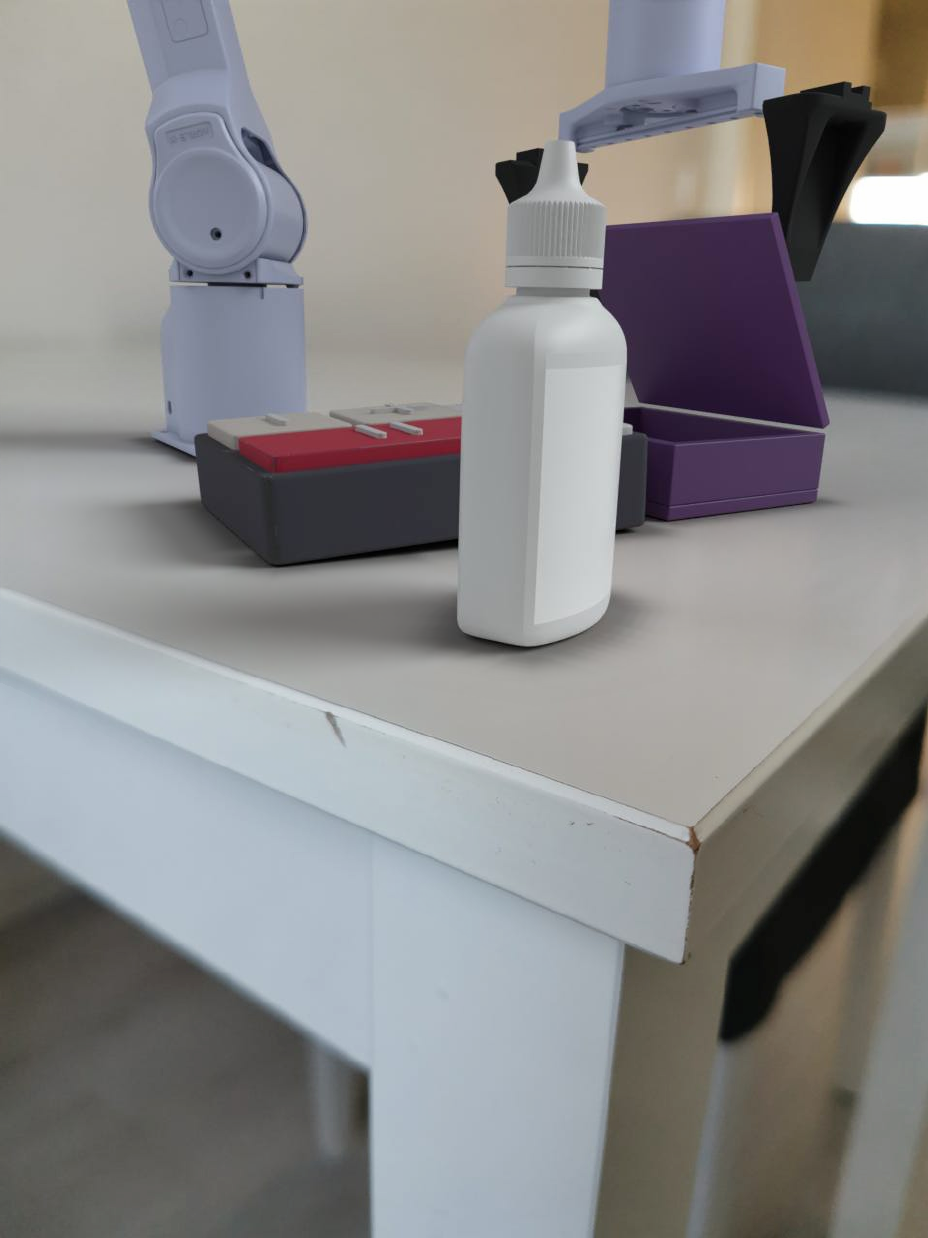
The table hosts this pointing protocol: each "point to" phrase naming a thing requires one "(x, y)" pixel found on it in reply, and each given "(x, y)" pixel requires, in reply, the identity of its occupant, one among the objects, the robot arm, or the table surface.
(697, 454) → the purple box
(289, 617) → the table surface
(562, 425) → the eye dropper bottle
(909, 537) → the table surface
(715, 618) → the table surface
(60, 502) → the table surface
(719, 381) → the purple lid
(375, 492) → the grey and red box
